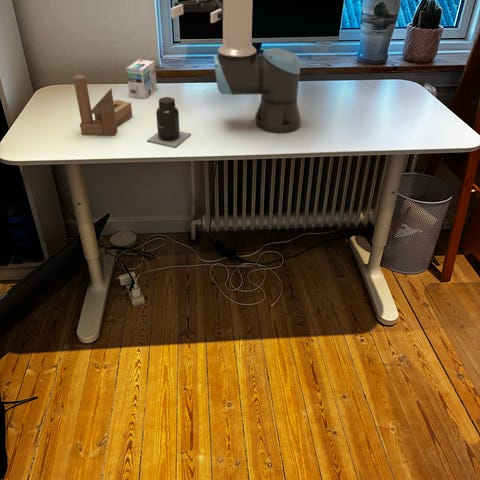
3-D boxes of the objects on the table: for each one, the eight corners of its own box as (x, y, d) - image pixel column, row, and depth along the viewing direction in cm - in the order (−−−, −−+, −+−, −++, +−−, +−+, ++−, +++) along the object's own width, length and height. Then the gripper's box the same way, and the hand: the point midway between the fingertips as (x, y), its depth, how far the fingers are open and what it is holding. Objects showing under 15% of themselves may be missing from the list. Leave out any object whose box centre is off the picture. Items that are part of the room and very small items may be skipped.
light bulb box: (145, 99, 182) (142, 69, 176) (128, 97, 184) (125, 67, 177) (157, 89, 191) (155, 60, 184) (141, 87, 192) (138, 58, 185)
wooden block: (115, 136, 158) (106, 79, 147) (81, 134, 158) (70, 78, 147) (118, 131, 161) (110, 75, 150) (84, 129, 161) (74, 74, 150)
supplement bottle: (155, 140, 154) (152, 103, 147) (161, 131, 160) (158, 94, 152) (177, 142, 154) (175, 104, 146) (182, 132, 159) (180, 96, 152)
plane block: (132, 116, 170) (129, 93, 165) (111, 130, 161) (108, 106, 156) (117, 113, 171) (114, 91, 167) (96, 127, 163) (92, 103, 158)
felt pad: (191, 134, 159) (191, 133, 159) (175, 148, 152) (175, 146, 151) (163, 129, 162) (163, 127, 162) (147, 141, 155) (147, 140, 155)
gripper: (255, 18, 167) (228, 33, 151) (188, 10, 174) (157, 24, 159) (255, -7, 162) (228, 6, 146) (187, -14, 170) (155, -2, 154)
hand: (191, 15), depth 152 cm, fingers open, 13 cm apart
